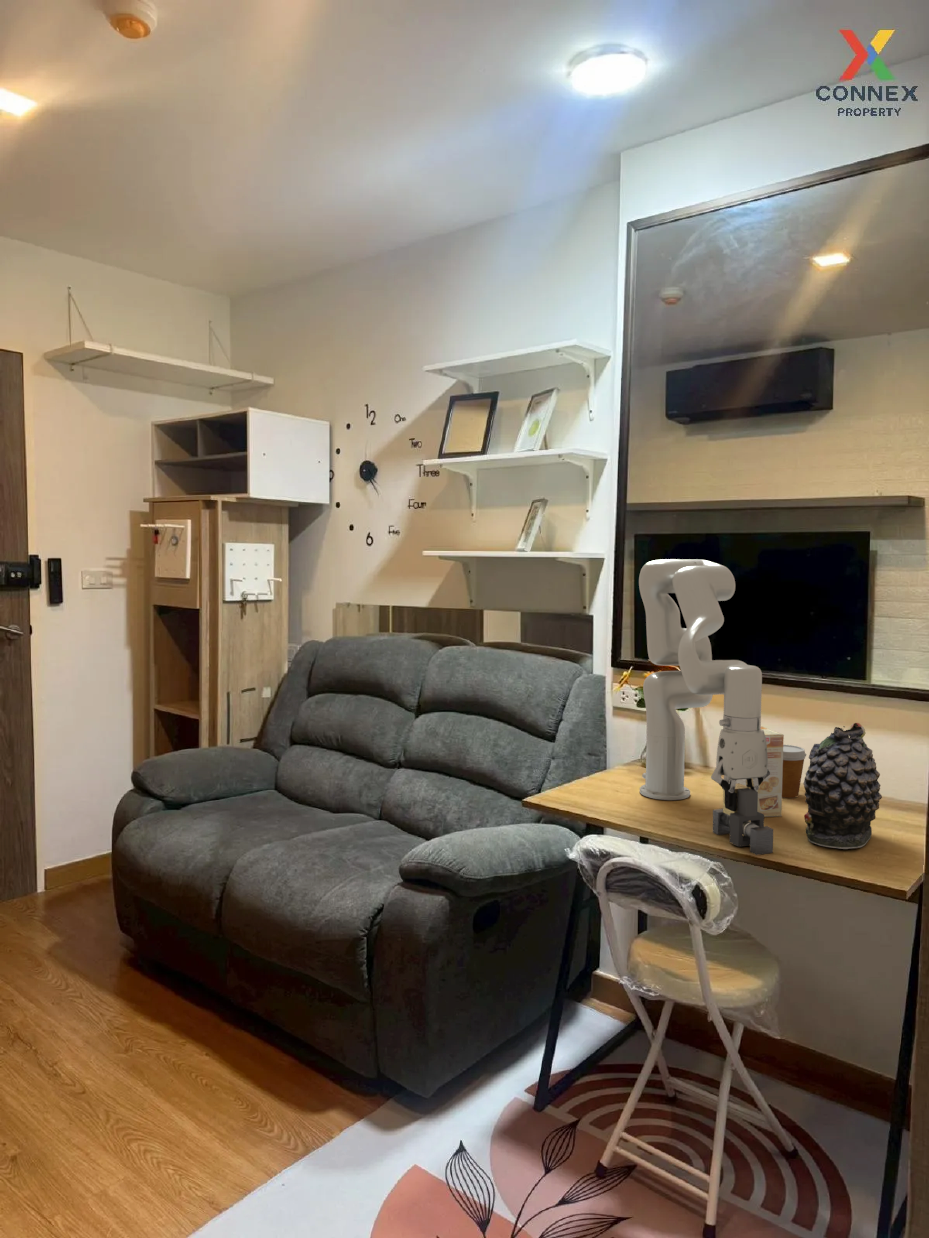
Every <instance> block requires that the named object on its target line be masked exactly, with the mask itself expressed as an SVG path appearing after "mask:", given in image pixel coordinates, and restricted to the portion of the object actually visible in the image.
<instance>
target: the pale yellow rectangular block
mask: <svg viewBox="0 0 929 1238" xmlns="http://www.w3.org/2000/svg"><path fill="white" fill-rule="evenodd" d="M745 788H750V787H748V786H745V785H742V784H740V783H737V784H736V786H735V791H734V792H735V793H737V791H738V789H745ZM750 789H751V788H750ZM722 793H723V794H722V796H723V797H722V809H723V813H726V814H728V815H730V813H737V810H736V811H731V810H729V809H727V808H725V803H724V800H725V790H723V789H722Z"/></svg>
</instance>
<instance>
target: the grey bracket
mask: <svg viewBox="0 0 929 1238" xmlns="http://www.w3.org/2000/svg"><path fill="white" fill-rule="evenodd" d="M757 807H758V792H757V791H755V790H752V789H750V788H745V789H738V791H737V813H730V834H729V843H730V844H733V845H734V846H736V847H737V848H738V847H739V848H740V847H746V846H750V838H747V837H745V836H744V835H743V822H745V821H750V822H753V823H755V824H756V825H757V826H760V827H763V826H765V817H764V814H762V813H759V812H757Z"/></svg>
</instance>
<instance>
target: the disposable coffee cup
mask: <svg viewBox="0 0 929 1238" xmlns="http://www.w3.org/2000/svg"><path fill="white" fill-rule="evenodd" d="M806 757H807V753H806V751H805V748H803V747H801V746H798V745H792V744H791V745H790V744H783V776H782V798H785V799H792V798H793V799H794V798H797V797H799V794H800V787H801V782H802V781H801V780H802V775H803V770H804V769H803V768H804V762H805V759H806Z"/></svg>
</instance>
